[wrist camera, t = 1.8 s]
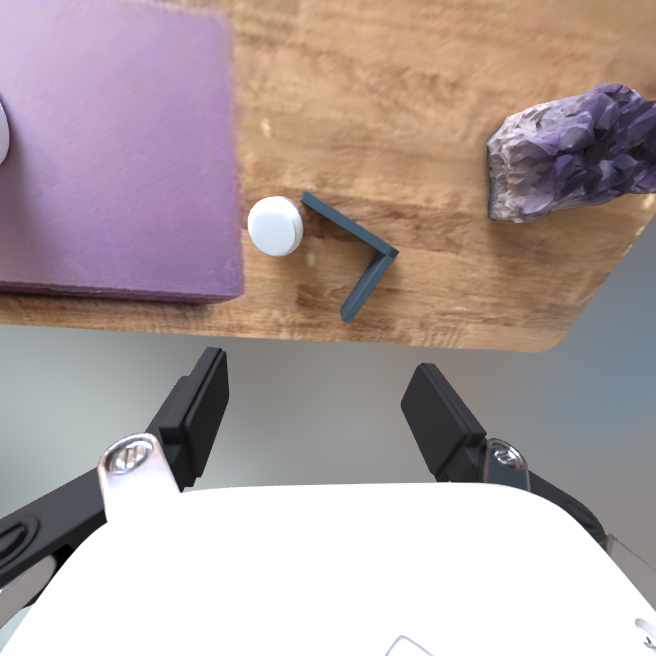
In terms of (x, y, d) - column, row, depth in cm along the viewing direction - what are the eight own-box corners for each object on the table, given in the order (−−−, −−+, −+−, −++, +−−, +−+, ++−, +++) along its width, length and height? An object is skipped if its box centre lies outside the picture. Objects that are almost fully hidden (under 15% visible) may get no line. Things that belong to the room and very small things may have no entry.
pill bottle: (294, 250, 31) (290, 273, 22) (253, 232, 29) (233, 250, 21) (309, 208, 28) (312, 216, 20) (266, 187, 27) (250, 185, 18)
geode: (666, 79, 25) (837, 50, 17) (598, 198, 32) (696, 215, 25) (490, 99, 24) (589, 78, 16) (460, 218, 31) (518, 243, 23)
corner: (266, 275, 32) (262, 283, 29) (304, 189, 27) (305, 189, 24) (346, 314, 36) (349, 324, 33) (391, 246, 31) (399, 251, 29)
